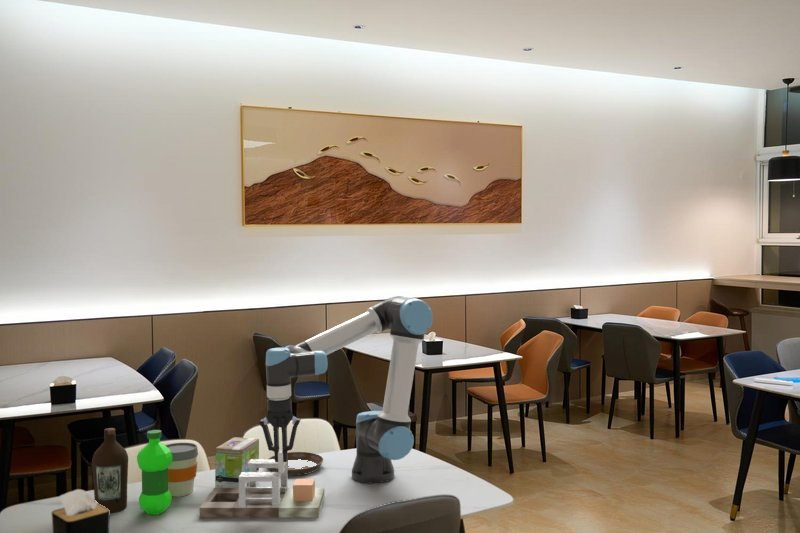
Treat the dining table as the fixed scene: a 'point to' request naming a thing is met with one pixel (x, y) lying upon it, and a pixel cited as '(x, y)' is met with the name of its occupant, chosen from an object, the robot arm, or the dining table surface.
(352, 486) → the dining table surface
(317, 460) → the plant saucer
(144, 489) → the plastic bottle
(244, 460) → the tea box
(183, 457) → the reusable coffee cup
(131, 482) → the dining table surface
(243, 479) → the tunnel
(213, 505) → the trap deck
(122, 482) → the olive oil
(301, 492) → the terracotta block
